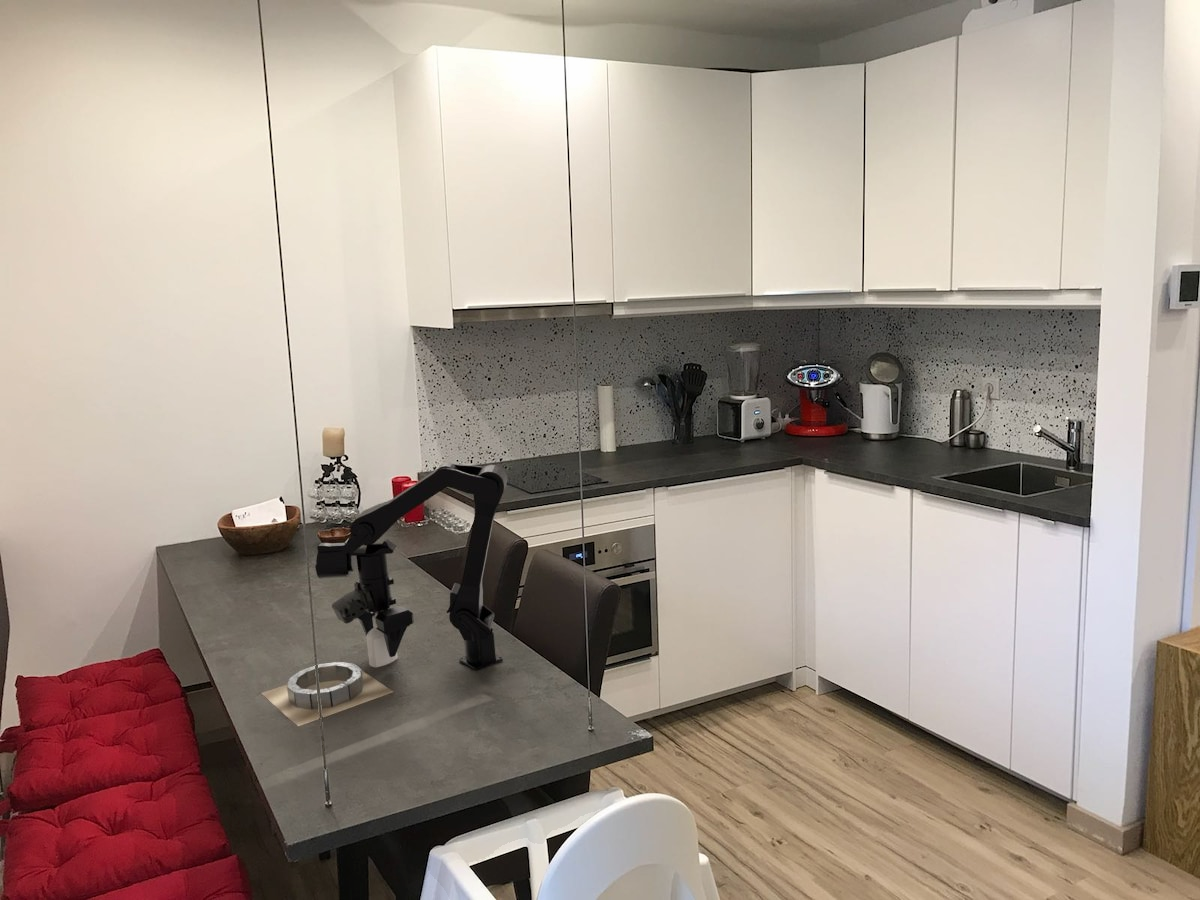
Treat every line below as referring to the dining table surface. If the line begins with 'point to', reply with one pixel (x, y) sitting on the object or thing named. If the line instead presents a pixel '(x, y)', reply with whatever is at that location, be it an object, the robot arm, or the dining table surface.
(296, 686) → the steel collar
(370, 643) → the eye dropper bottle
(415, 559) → the dining table surface
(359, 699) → the birch board
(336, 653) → the dining table surface
